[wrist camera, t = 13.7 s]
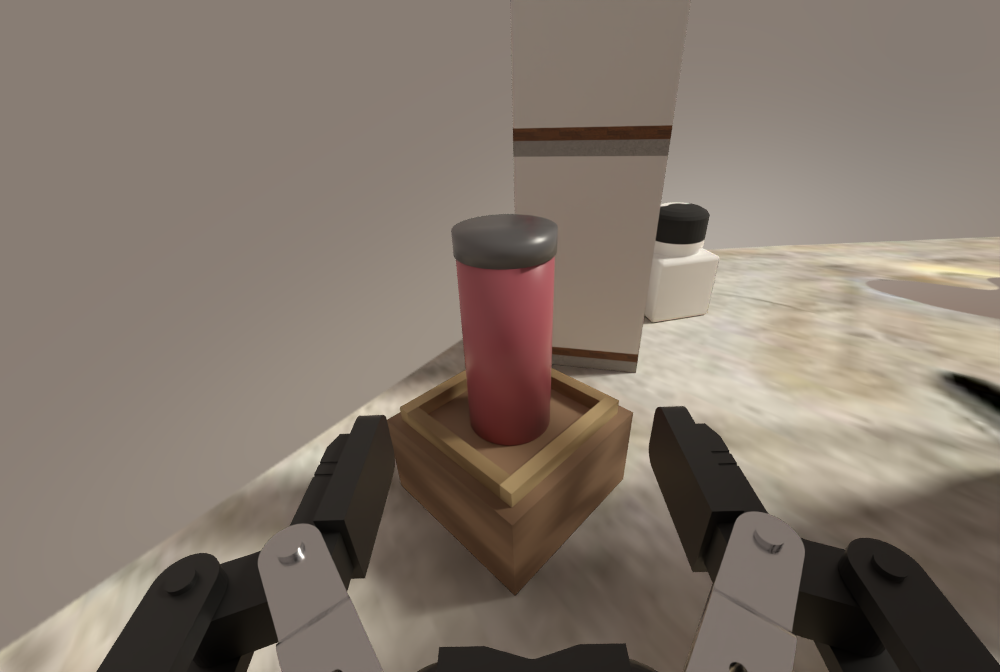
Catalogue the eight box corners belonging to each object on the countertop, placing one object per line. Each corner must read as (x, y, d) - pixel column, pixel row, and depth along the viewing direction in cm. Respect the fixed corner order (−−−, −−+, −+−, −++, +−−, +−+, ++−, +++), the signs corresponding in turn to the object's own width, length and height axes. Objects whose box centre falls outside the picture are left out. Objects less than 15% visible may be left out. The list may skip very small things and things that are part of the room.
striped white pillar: (633, 320, 50) (688, -95, 32) (635, 372, 41) (714, -161, 23) (535, 312, 52) (536, -76, 35) (517, 360, 43) (507, -129, 26)
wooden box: (509, 409, 37) (506, 339, 33) (623, 478, 30) (635, 399, 27) (401, 485, 30) (383, 407, 27) (515, 595, 24) (511, 511, 20)
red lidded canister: (508, 382, 30) (502, 209, 24) (568, 414, 27) (579, 224, 21) (451, 418, 27) (429, 230, 21) (512, 460, 24) (506, 251, 18)
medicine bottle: (708, 315, 50) (732, 210, 44) (652, 323, 49) (668, 217, 43) (673, 290, 56) (690, 196, 50) (622, 298, 55) (633, 201, 49)
